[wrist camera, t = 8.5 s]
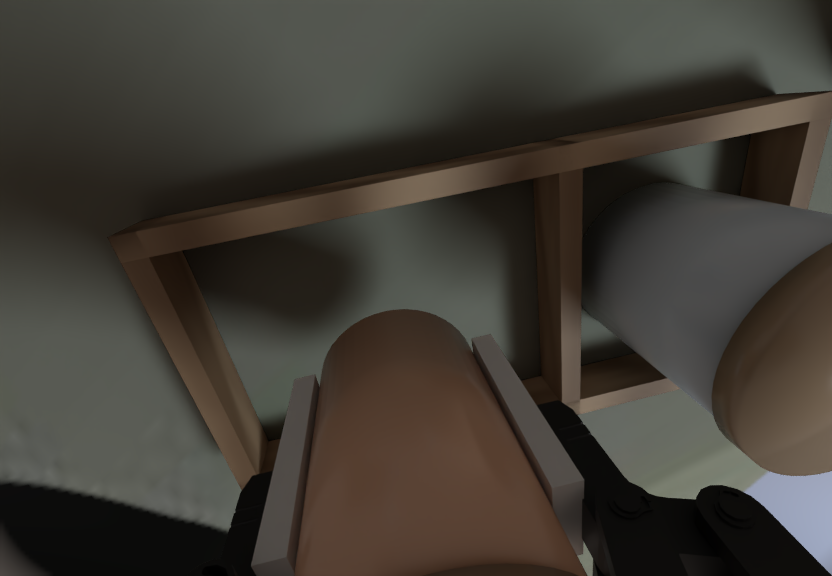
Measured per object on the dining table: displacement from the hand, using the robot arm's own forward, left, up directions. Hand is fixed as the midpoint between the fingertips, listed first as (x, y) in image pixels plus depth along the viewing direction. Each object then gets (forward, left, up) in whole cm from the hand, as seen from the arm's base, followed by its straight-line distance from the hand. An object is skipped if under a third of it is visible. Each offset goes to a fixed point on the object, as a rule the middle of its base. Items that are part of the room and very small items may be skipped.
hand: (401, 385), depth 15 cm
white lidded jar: (+14, 0, -5) cm, 15 cm away
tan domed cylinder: (0, 0, 0) cm, 0 cm away
